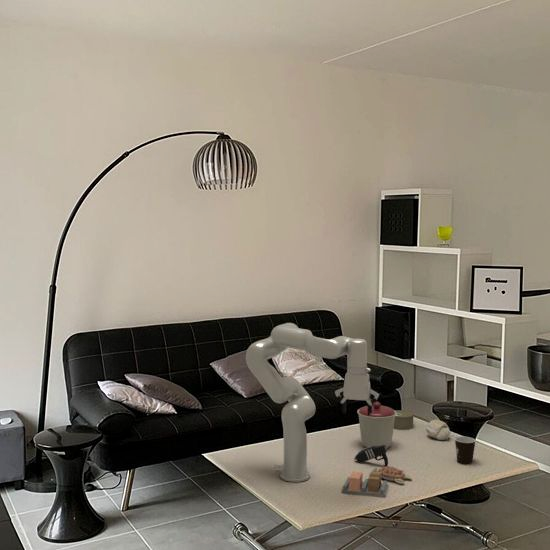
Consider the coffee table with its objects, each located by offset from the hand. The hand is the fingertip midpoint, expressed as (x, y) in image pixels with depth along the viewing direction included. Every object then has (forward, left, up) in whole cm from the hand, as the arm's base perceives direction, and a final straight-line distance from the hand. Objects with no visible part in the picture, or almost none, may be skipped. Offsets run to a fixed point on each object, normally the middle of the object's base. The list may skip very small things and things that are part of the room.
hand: (356, 413), depth 278 cm
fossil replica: (+28, +73, -31) cm, 84 cm away
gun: (+1, +29, -31) cm, 42 cm away
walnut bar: (+7, +1, -29) cm, 30 cm away
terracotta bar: (0, -2, -29) cm, 29 cm away
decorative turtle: (+12, +15, -31) cm, 36 cm away
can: (+9, +87, -31) cm, 93 cm away
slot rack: (+4, 0, -30) cm, 31 cm away
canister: (+1, +53, -31) cm, 61 cm away
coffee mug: (+41, +44, -31) cm, 67 cm away
